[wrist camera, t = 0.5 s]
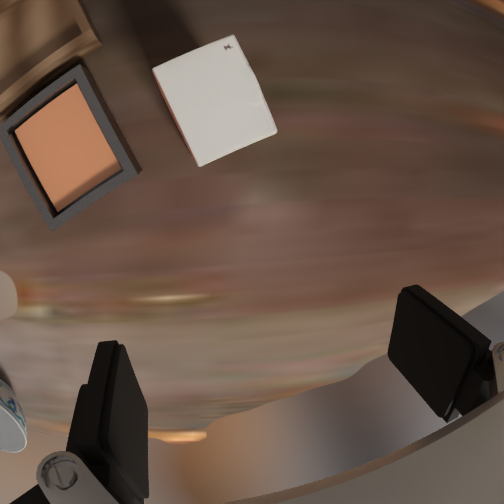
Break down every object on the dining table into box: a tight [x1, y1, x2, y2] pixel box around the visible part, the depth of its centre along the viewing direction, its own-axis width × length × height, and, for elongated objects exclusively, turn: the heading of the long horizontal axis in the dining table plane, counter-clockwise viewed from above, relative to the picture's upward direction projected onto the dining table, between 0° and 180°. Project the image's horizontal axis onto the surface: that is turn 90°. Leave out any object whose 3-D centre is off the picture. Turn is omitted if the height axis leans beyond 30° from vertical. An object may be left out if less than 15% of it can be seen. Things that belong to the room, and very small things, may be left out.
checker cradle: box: [0, 64, 142, 232], centre depth 28 cm, size 11×13×4 cm
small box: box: [152, 35, 277, 167], centre depth 26 cm, size 8×6×13 cm
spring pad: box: [15, 84, 122, 212], centre depth 28 cm, size 8×10×1 cm
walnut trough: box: [0, 0, 103, 121], centre depth 22 cm, size 16×13×4 cm
